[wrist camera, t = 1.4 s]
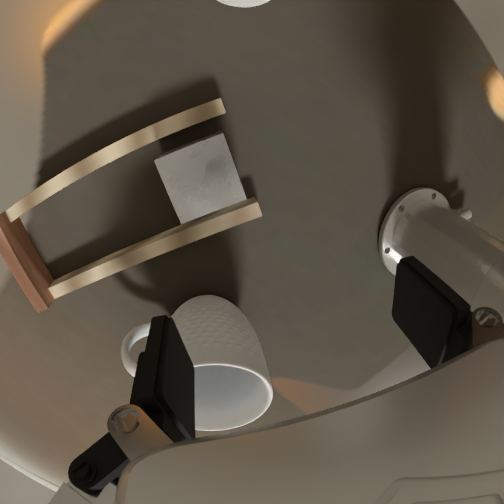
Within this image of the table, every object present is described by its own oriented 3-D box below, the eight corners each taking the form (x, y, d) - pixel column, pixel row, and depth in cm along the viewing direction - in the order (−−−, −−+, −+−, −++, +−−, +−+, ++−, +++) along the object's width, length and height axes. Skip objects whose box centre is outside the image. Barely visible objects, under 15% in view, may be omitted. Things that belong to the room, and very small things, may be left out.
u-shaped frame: (219, 99, 25) (221, 96, 22) (258, 209, 31) (266, 222, 27) (4, 212, 26) (-14, 224, 22) (50, 294, 31) (38, 312, 27)
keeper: (220, 131, 27) (223, 133, 22) (240, 186, 30) (246, 199, 25) (162, 153, 27) (154, 160, 23) (184, 207, 30) (181, 224, 25)
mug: (135, 344, 36) (120, 425, 24) (129, 272, 32) (99, 353, 20) (245, 350, 39) (262, 430, 27) (258, 280, 35) (286, 362, 23)
